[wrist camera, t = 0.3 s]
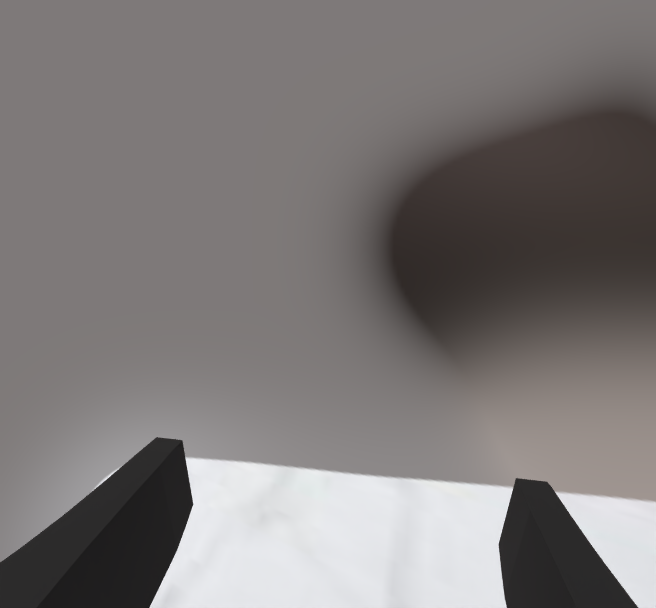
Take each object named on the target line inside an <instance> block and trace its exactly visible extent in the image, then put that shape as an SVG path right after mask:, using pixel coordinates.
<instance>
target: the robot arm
mask: <svg viewBox="0 0 656 608" xmlns="http://www.w3.org/2000/svg"><path fill="white" fill-rule="evenodd" d="M192 506H193V500H192V495H191V489H190V483H189V477H188V471H187V465H186V459H185V453H184V448H183V442H182V440H176V439H166V438H158V437H157V438H155V439H154V440H153V441H152V442H150V443H149V444H148V445H147V446H146V447H144V448H143V449H142V450H141V451H140V452H139V453H137V454H136V455H135V456H134V457H133V458H132V459H130V460H129V461H128V462H127V463H126V464H124V465H123V466H122V467H121V468H120V469H119V470H117V471H116V472H115V473H114V474H113V475H111V476H110V477H109V478H108V479H107V480H106V481H104V482H103V483H102V484H101V485H100V486H98V487H97V488H96V489H95V490H94V491H92V492H91V493H90V494H89V495H88V496H86V497H85V498H84V499H83V500H81V501H80V502H79V503H78V504H77V505H75V506H74V507H73V508H72V509H71V510H69V511H68V512H67V513H66V514H64V515H63V516H62V517H61V518H59V519H58V520H57V521H55V522H54V523H53V524H51V525H50V526H49V527H48V528H46V529H45V530H44V531H42V532H41V533H40V534H38V535H37V536H36V537H34V538H33V539H32V540H30V541H29V542H28V543H27V544H25V545H24V546H23V547H21V548H20V549H18V550H17V551H16V552H14V553H13V554H12V555H10V556H9V557H7V558H6V559H5V560H3V561H2V562H0V608H149V607H150V605H151V603H152V601H153V599H154V597H155V595H156V593H157V591H158V589H159V587H160V585H161V583H162V580H163V578H164V576H165V574H166V572H167V570H168V568H169V566H170V564H171V562H172V560H173V558H174V555H175V553H176V551H177V549H178V546H179V543H180V541H181V538H182V535H183V532H184V530H185V527H186V524H187V521H188V518H189V515H190V512H191V509H192ZM499 552H500V561H501V571H502V579H503V587H504V595H505V601H506V605H507V608H638V607H637V605H636V604H635V603H634V602H633V600H632V599H631V598H630V596H629V595H628V594H627V592H626V591H625V590H624V588H623V587H622V586H621V584H620V583H619V582H618V580H617V579H616V578H615V576H614V575H613V574H612V573H611V571H610V570H609V569H608V567H607V566H606V565H605V563H604V562H603V560H602V559H601V558H600V556H599V555H598V554H597V552H596V551H595V549H594V548H593V547H592V545H591V544H590V542H589V541H588V540H587V538H586V537H585V535H584V534H583V532H582V531H581V530H580V528H579V527H578V525H577V524H576V522H575V521H574V519H573V518H572V517H571V515H570V514H569V512H568V511H567V509H566V508H565V506H564V505H563V503H562V502H561V500H560V499H559V497H558V496H557V494H556V493H555V491H554V490H553V489H552V487H551V486H550V485H549V484H548V482H543V481H535V480H527V479H518V478H516V480H515V484H514V488H513V492H512V495H511V499H510V503H509V507H508V511H507V514H506V518H505V522H504V526H503V530H502V533H501V537H500V541H499Z"/></svg>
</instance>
